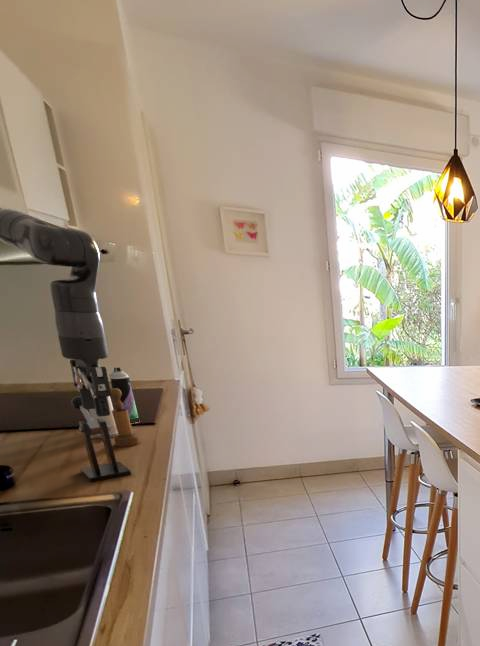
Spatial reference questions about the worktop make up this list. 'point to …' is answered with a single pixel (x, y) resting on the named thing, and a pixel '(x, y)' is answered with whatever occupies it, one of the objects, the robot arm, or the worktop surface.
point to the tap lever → (86, 416)
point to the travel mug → (108, 419)
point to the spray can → (124, 391)
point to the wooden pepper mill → (122, 423)
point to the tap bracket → (95, 470)
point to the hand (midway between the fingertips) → (96, 412)
